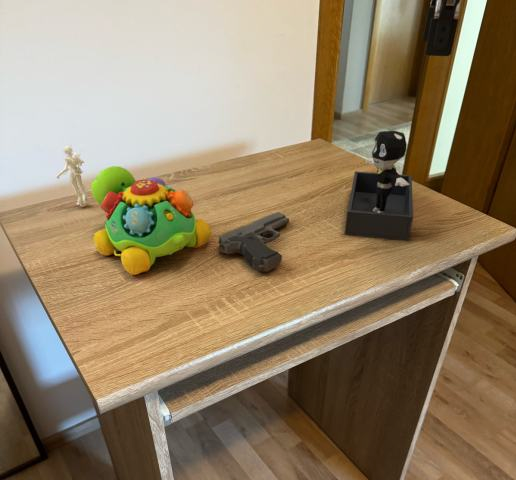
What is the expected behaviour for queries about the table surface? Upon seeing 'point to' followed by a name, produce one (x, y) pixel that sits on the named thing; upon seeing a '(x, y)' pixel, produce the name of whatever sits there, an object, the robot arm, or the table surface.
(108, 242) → the turtle toy
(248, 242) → the handgun
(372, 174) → the dark grey open box
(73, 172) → the figurine
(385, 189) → the toy
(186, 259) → the table surface
